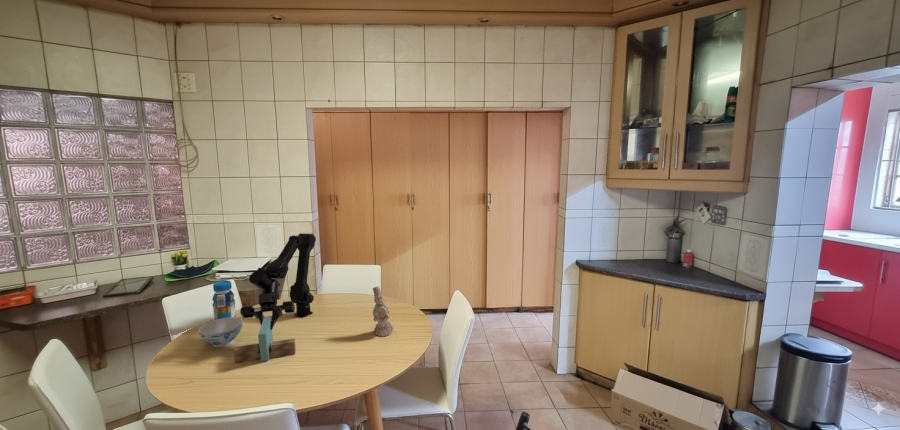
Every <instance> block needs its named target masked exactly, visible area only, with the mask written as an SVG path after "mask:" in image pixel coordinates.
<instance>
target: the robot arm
mask: <svg viewBox="0 0 900 430" xmlns="http://www.w3.org/2000/svg"><path fill="white" fill-rule="evenodd" d="M316 239H317V237H316V235H314V234H313V233H301V232H300V233H299V234H298V235H290V236H289V237H288V241H287V243H285V246H284V247H283V249H282V251H281V252H280V253H279V255H278V257H276V259H274V260H272V261H270V263H269V264H268V266H267V267H266V268H264V267H258V268H257V270H255V271H253V272H252V273H251V274H250V275H249V277H248V281H249V283H251V284H252V285H254V286H255V287H257V288H259V289H260V290H261V294H258V305H259V306H258V307H254V306H253V304H250V305H243V306H241V308H240V311H239V313H240V315H241V316H242V318H243V319H249V318H250V319H251V318H255V319H258V321H259V324H260V326H261V325H262V322H263V319H264V317H265V315H264V313H267V312H269V313H270V312H271V314H272V315H271V325H270V330H272V331H273V329H274V327H275V325H276V323H277V321H278V320H279V318H280V317H282V316H283V315H284V314H283V311H284V313H286V314H291V313H293V316H296V317H297V318H298V317H299V318H301V319H302V318H303V319H304V318H305V317H308V316H310V315H312V314H314V312H313V311H311V305H310V304H312V303H313V302H314V295H313V294H312V293H311V291H310V289H311V288H310V285H309V284H308V275H309V274H308V273H309V264H310V255H311V252H312V250H313V249H314V248H315V244H316ZM297 250H298V258H297V259H298V260H297V268H296V274H295V275H296V277H295V282H294V283H293V285H291V286H290V287H289V298H290V300H287V301H282V304H280V305H278V300H279V299H280V291H279V290H278V289H279V287H280V286H281V283H280V282H279V281H278V280H279V279H281V280H282V279H284V278H285V277H286V276H287V273H288V272H289V264H290V261H291V260H292V259H293V256H294V254H295V253H296V251H297ZM295 311H296V312H295Z"/></svg>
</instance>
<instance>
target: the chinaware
mask: <svg viewBox="0 0 900 430" xmlns="http://www.w3.org/2000/svg"><path fill="white" fill-rule="evenodd" d="M243 324H244V320H243V319H242V318H241V317H237V316H236V317H229V318H222V319H217V320H215V319H214V320H212V321H211V320H210V321H208V322H206V323H204V324H202V325H201V326H200V327H198V333H199V335H200V338H201V339H202V340H203V341H204V342H206V343H207V344H209V345H212V346H213V347H214V348H222V347H226V346H229V345H231V344H232V343H233V341H234V340H235V339H236V338H237V337H238V336H239V334H240V333H241V330H242V328H243Z"/></svg>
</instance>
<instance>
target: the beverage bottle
mask: <svg viewBox="0 0 900 430" xmlns="http://www.w3.org/2000/svg"><path fill="white" fill-rule="evenodd" d="M212 286H213V287H212V289H213V292H214V294H213V296H212V301H213V303H212V308H213V309H212V310H213V317H214V320H217V319H222V318H229V317H236V318H237V316H236V300H235V294H234V292H233V291H232V286H233V285H232V281H231V280H220V281H217V282H214V283H213V284H212Z"/></svg>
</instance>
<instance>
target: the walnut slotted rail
mask: <svg viewBox="0 0 900 430" xmlns="http://www.w3.org/2000/svg"><path fill="white" fill-rule="evenodd" d="M296 352H297V351H296V339H295V338H290V339H282V340H281V339H280V340H273V342H272V345H271V348H269V359H274V358H279V357H281V358H282V357H287V356H288V357H289V356H294V355H296ZM233 358H234V364H241V363H249V362H255V361H261V357H260V348H259V343H253V344H252V343H251V344H245V345H239V346H235V348H234V349H233Z"/></svg>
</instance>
